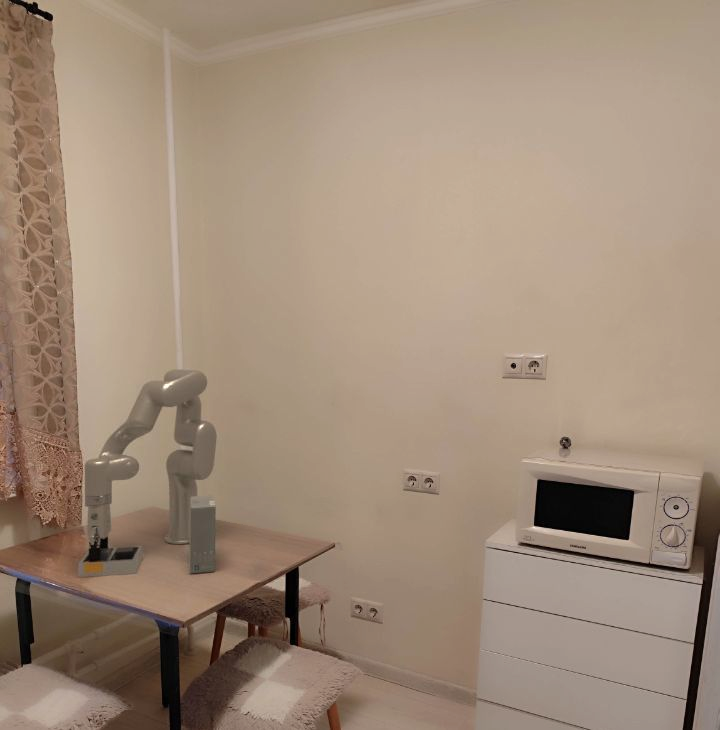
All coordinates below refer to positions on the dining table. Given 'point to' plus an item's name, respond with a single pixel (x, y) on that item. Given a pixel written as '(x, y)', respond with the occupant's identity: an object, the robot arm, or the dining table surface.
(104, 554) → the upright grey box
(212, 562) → the hard drive box
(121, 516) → the dining table surface
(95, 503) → the robot arm
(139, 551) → the grey divided tray
